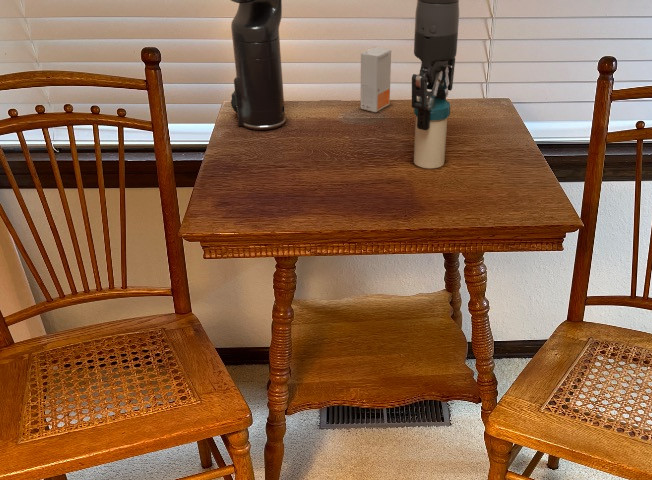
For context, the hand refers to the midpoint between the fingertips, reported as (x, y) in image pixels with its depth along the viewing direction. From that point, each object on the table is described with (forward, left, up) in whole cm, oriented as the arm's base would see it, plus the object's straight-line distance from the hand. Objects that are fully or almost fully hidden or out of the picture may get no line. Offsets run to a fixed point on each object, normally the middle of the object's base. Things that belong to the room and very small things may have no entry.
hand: (431, 122), depth 140 cm
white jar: (0, 0, -8) cm, 8 cm away
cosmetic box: (-13, +27, -8) cm, 32 cm away
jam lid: (0, 0, +3) cm, 3 cm away
